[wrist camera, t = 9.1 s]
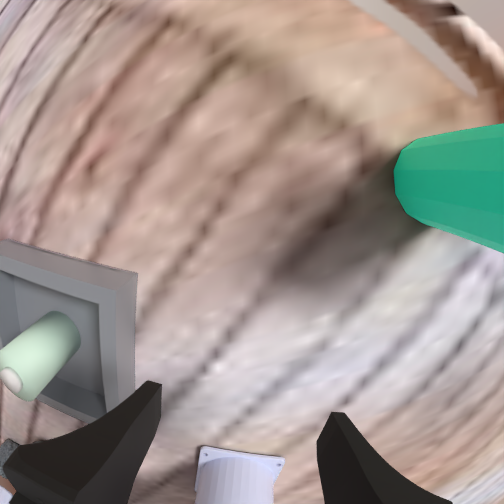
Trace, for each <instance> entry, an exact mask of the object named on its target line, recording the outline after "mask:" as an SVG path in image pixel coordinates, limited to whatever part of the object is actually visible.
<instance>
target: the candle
mask: <svg viewBox="0 0 504 504" xmlns="http://www.w3.org/2000/svg"><path fill="white" fill-rule="evenodd" d="M394 182H395V194H396V196H397V198H398V200H399V201H400V203H401V205H402V207H403V209H404V210H405V212H406V214H408V215H409V216H411V217H413V218H414V219H416V220H418V221H419V222H421V223H423V224H426V225H429V226H432V227H435V228H437V229H440V230H443V231H446V232H449V233H452V234H455V235H457V236H460V237H463V238H466V239H468V240H471V241H474V242H476V243H479V244H481V245H484V246H487V247H489V248H492V249H494V250H497V251H499V252H502V253H504V123H503V124H496V125H490V126H483V127H477V128H471V129H466V130H460V131H454V132H449V133H444V134H439V135H434V136H429V137H424V138H419V139H416V140H415V141H413V142H412V143H411V144H409V145H408V146H407V147H405V148H404V149H402V150H401V153H400V155H399V158H398V161H397V163H396V166H395V168H394Z"/></svg>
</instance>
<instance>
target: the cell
mask: <svg viewBox="0 0 504 504" xmlns="http://www.w3.org/2000/svg"><path fill="white" fill-rule="evenodd" d="M80 345H81V338H80V334H79V331H78V329H77V327H76V325H75V324H74V322H73V321H72V320H71V319H70V318H69V317H68V316H67V315H65V314H64V313H62V312H59V311H50V312H48V313H47V314H46V315H44V316H43V317H42V318H40V319H39V320H38V321H36V322H35V323H34V324H33V325H31V326H30V327H29V328H27V329H26V330H25V331H24V332H22V333H21V334H20V335H19V336H17V337H16V338H15V339H14V340H12V341H11V342H10V343H9V344H7V345H6V346H5V347H4V348H3V349H1V350H0V378H1V380H2V381H3V383H4V384H5V386H6V387H7V388H8V389H9V390H10V391H11V392H12V393H14V394H15V395H16V396H17V397H19V398H20V399H22V400H25V401H33V400H34V399H35V398H36V397H37V396H38V395H39V393H40V392H41V391H42V390H43V389H44V388H45V386H46V385H47V384H48V383H49V382H50V381H51V380H52V378H53V377H54V376H55V375H56V374H57V373H58V372H59V371H60V369H61V368H62V367H63V366H64V365H65V364H66V363H67V362H68V361H69V359H70V358H71V357H72V356H73V355H74V354H75V353H76V352H77V351H78V349H79V348H80Z"/></svg>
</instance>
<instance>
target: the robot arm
mask: <svg viewBox="0 0 504 504" xmlns="http://www.w3.org/2000/svg"><path fill="white" fill-rule="evenodd" d="M161 393H162V384H159V383H155V382H152V381H146V382H145V383H144V384H143V385H142V386H140V387H139V388H138V389H137V390H136V391H135V392H134V393H133V394H131V395H130V396H129V397H128V398H127V399H125V400H124V401H123V402H122V403H120V404H119V405H118V406H116V407H115V408H114V409H112V410H111V411H109V412H108V413H106V414H105V415H103V416H102V417H100V418H99V419H97V420H95V421H94V422H92V423H90V424H88V425H86V426H84V427H82V428H80V429H78V430H76V431H73V432H71V433H69V434H66V435H63V436H60V437H57V438H54V439H50V440H47V441H43V442H39V443H33V444H27V445H20V446H18V447H17V448H16V449H15V450H14V451H13V453H12V454H11V455H10V456H9V458H8V459H7V461H6V462H5V463H4V465H3V466H2V468H3V472H4V474H5V476H6V477H7V478H8V480H9V481H10V483H11V484H12V485H13V487H14V488H15V489H16V493H15V494H14V496H13V495H12V494H11V493H10V492H9V491H8V490H6V489H5V488H4V487H2V486H1V485H0V504H127V503H128V499H129V496H130V493H131V489H132V486H133V483H134V480H135V478H136V475H137V473H138V471H139V468H140V466H141V464H142V462H143V460H144V458H145V456H146V454H147V451H148V449H149V447H150V445H151V443H152V441H153V439H154V436H155V434H156V431H157V427H158V424H159V421H160V418H161ZM317 462H318V468H319V474H320V479H321V484H322V490H323V495H324V501H325V504H453V503H452V502H451V501H449V500H446V499H444V498H441V497H439V496H436V495H434V494H432V493H430V492H428V491H426V490H424V489H422V488H421V487H419V486H417V485H416V484H414V483H413V482H411V481H410V480H408V479H407V478H405V477H404V476H403V475H401V474H400V473H399V472H397V471H396V470H395V469H394V468H393V467H392V466H390V465H389V464H388V463H387V462H386V461H385V460H384V459H383V458H382V457H381V456H380V455H379V454H378V453H377V452H376V451H375V450H374V449H373V447H372V446H371V445H370V444H369V443H368V442H367V440H366V439H365V438H364V437H363V436H362V434H361V433H360V432H359V431H358V429H357V428H356V427H355V425H354V424H353V423H352V422H351V420H350V419H349V418H348V416H347V415H346V414H345V413H342V412H331V414H330V416H329V418H328V420H327V422H326V424H325V426H324V428H323V430H322V432H321V434H320V436H319V438H318V440H317ZM284 463H285V458H283V457H276V456H266V455H258V454H250V453H243V452H236V451H230V450H224V449H218V448H213V447H208V446H203V447H201V449H200V456H199V462H198V469H197V475H196V482H195V489H194V490H195V492H197V494H196V499H195V504H274V502H273V485H274V483H275V481H276V479H277V477H278V475H279V473H280V471H281V469H282V467H283V465H284Z"/></svg>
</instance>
